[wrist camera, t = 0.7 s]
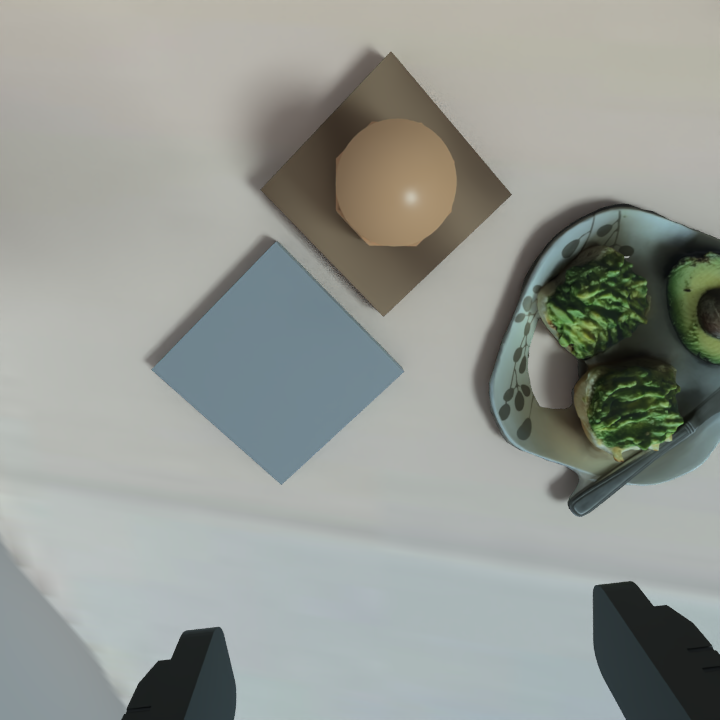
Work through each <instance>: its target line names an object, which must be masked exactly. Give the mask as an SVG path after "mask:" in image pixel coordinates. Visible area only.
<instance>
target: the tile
mask: <svg viewBox="0 0 720 720" xmlns="http://www.w3.org/2000/svg"><path fill="white" fill-rule="evenodd" d="M152 371H154V372H155V373H156V374H157V375H158V376H159V377H160V378H161V379H163V380H164V381H165V382H166V383H167V384H168V385H169V386H170V387H172V388H173V389H174V390H175V391H176V392H177V393H178V394H180V395H181V396H182V397H183V398H184V399H185V400H186V401H187V402H189V403H190V404H191V405H192V406H193V407H194V408H195V409H196V410H198V411H199V412H200V413H201V414H202V415H203V416H204V417H205V418H207V419H208V420H209V421H210V422H211V423H212V424H213V425H215V426H216V427H217V428H218V429H219V430H220V431H221V432H222V433H224V434H225V435H226V436H227V437H228V438H229V439H230V440H231V441H233V442H234V443H235V444H236V445H237V446H238V447H239V448H240V449H242V450H243V451H244V452H245V453H246V454H247V455H248V456H250V457H251V458H252V459H253V460H254V461H255V462H256V463H257V464H259V465H260V466H261V467H262V468H263V469H264V470H265V471H266V472H268V473H269V474H270V475H271V476H272V477H273V478H274V479H275V480H277V481H278V482H279V483H280V484H281V485H282V484H283V483H284V482H285V481H286V480H287V479H288V478H289V477H290V476H292V475H293V474H294V473H295V472H296V471H297V470H298V469H299V468H300V467H301V466H302V465H303V464H305V463H306V462H307V461H308V460H309V459H310V458H311V457H312V456H313V455H314V454H315V453H316V452H318V451H319V450H320V449H321V448H322V447H323V446H324V445H325V444H326V443H327V442H328V441H329V440H331V439H332V438H333V437H334V436H335V435H336V434H337V433H338V432H339V431H340V430H341V429H342V428H344V427H345V426H346V425H347V424H348V423H349V422H350V421H351V420H352V419H353V418H354V417H356V416H357V415H358V414H359V413H360V412H361V411H362V410H363V409H364V408H365V407H366V406H367V405H369V404H370V403H371V402H372V401H373V400H374V399H375V398H376V397H377V396H378V395H379V394H380V393H382V392H383V391H384V390H385V389H386V388H387V387H388V386H389V385H390V384H391V383H392V382H393V381H395V380H396V379H397V378H398V377H399V376H400V375H401V374H402V373H403V372H404V371H403V368H402V367H401V366H400V365H399V364H398V363H397V362H396V361H395V360H394V359H393V358H392V357H391V356H390V355H389V354H388V353H387V352H386V351H385V350H384V349H383V348H382V346H381V345H380V344H379V343H378V342H377V341H376V340H375V339H374V338H373V337H372V336H371V335H370V334H369V333H368V332H367V331H366V330H365V329H364V328H363V327H362V326H361V325H360V324H359V323H358V322H357V321H356V320H355V319H354V318H353V317H352V316H351V315H350V314H349V313H348V312H347V311H346V310H345V309H344V308H343V307H342V306H341V305H340V304H339V303H338V302H337V301H336V300H335V299H334V298H333V297H332V296H331V295H330V294H329V293H328V292H327V291H326V290H325V289H324V288H323V287H322V286H321V285H320V284H319V283H318V282H317V281H316V280H315V279H314V278H313V277H312V276H311V274H310V273H309V272H308V271H307V270H306V269H305V268H304V267H303V266H302V265H301V264H300V263H299V262H298V261H297V260H296V259H295V258H294V257H293V256H292V255H291V254H290V253H289V252H288V251H287V250H286V249H285V248H284V247H283V246H282V245H281V244H280V243H279V242H278V241H277V242H275V243H274V244H273V245H272V246H271V247H270V248H269V249H268V250H267V251H266V252H265V253H264V254H263V255H262V256H261V257H260V258H259V259H258V261H257V262H256V263H255V264H254V265H253V266H252V267H251V268H250V269H249V270H248V271H247V272H246V273H245V274H244V275H243V276H242V277H241V278H240V279H239V280H238V281H237V282H236V283H235V284H234V285H233V286H232V287H231V288H230V289H229V290H228V291H227V292H226V293H225V295H224V296H223V297H222V298H221V299H220V300H219V301H218V302H217V303H216V304H215V305H214V306H213V307H212V308H211V309H210V310H209V311H208V312H207V313H206V314H205V315H204V316H203V317H202V318H201V319H200V320H199V321H198V322H197V323H196V324H195V325H194V326H193V327H192V328H191V330H190V331H189V332H188V333H187V334H186V335H185V336H184V337H183V338H182V339H181V340H180V341H179V342H178V343H177V344H176V345H175V346H174V347H173V348H172V349H171V350H170V351H169V352H168V353H167V354H166V355H165V356H164V357H163V358H162V359H161V360H160V361H159V362H158V364H157V365H156V366H155V367H154V368H153V369H152Z"/></svg>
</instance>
